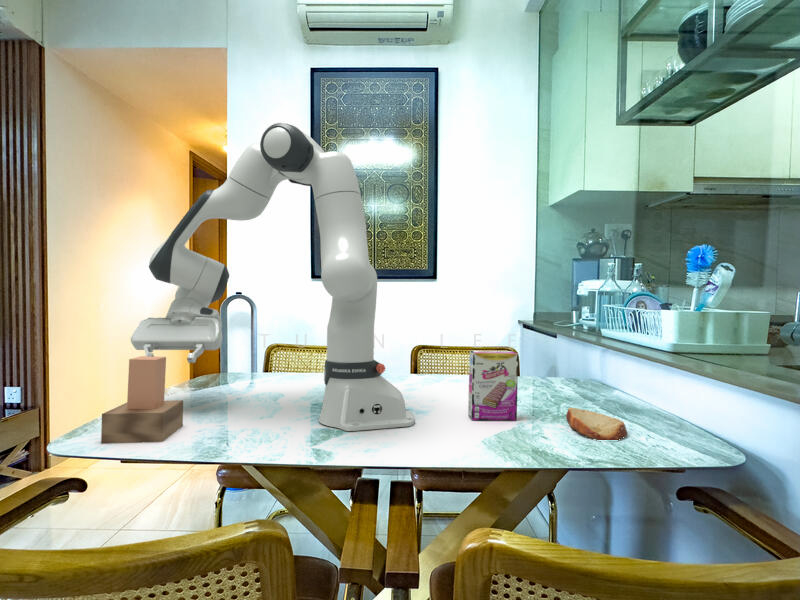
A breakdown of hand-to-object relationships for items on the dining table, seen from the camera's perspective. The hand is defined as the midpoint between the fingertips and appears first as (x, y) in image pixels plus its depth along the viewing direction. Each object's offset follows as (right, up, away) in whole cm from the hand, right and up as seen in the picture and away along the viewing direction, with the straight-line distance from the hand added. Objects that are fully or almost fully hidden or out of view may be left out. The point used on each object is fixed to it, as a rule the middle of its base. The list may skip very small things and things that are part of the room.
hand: (169, 361), depth 100 cm
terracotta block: (+2, -8, -12) cm, 14 cm away
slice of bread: (+98, -15, -2) cm, 99 cm away
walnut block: (+1, -14, -12) cm, 18 cm away
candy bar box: (+77, -15, +4) cm, 78 cm away
